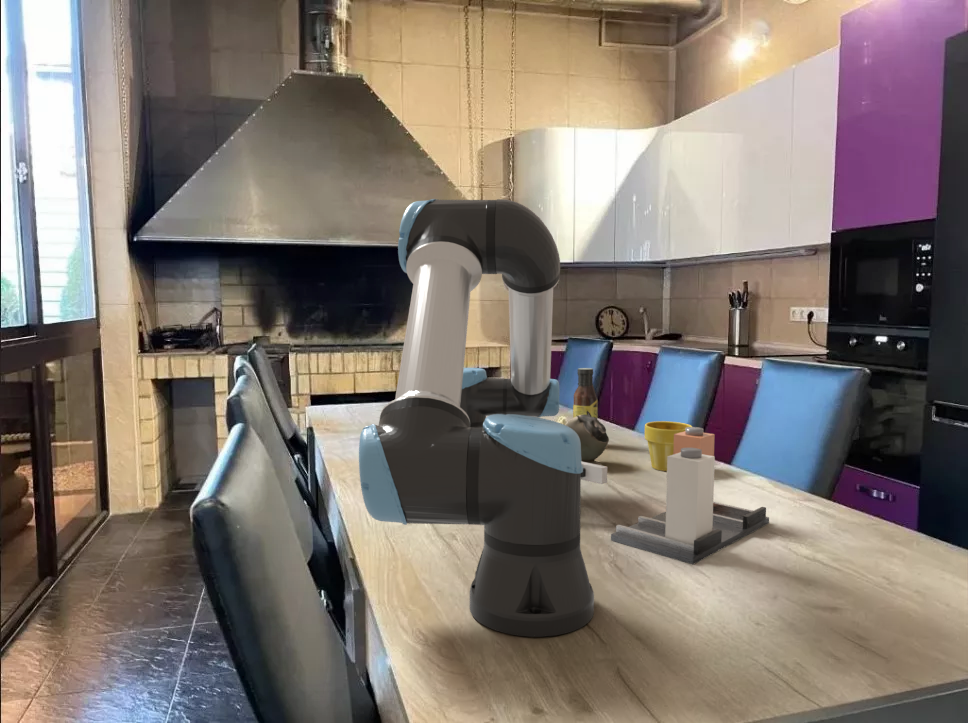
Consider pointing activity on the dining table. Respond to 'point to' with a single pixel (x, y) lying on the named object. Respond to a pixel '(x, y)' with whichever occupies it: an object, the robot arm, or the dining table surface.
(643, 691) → the dining table surface
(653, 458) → the plant pot
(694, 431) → the orange square bottle
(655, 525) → the dark grey divided tray
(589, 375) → the sauce bottle
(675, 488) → the white square bottle
